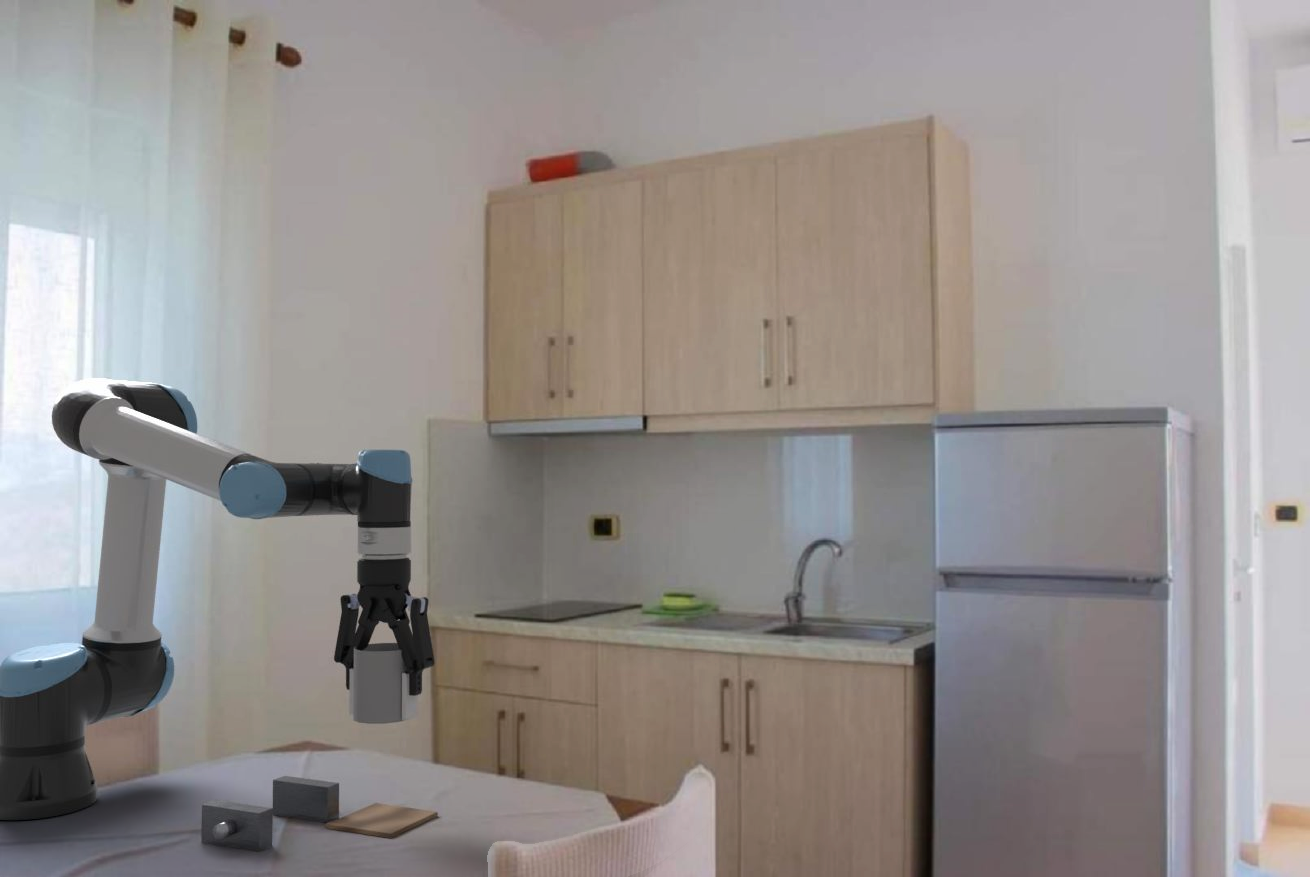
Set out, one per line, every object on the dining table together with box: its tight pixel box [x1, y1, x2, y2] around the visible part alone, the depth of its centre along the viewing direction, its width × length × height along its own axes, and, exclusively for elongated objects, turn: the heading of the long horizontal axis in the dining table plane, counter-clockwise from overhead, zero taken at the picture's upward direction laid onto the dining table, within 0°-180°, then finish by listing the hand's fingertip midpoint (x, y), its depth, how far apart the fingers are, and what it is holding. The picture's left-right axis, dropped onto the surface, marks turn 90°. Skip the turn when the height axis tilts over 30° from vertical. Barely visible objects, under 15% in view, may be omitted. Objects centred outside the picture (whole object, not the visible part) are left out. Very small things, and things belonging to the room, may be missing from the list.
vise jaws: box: [200, 775, 340, 853], centre depth 157 cm, size 10×20×5 cm, turn 156°
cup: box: [352, 642, 407, 725], centre depth 161 cm, size 8×8×10 cm
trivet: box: [325, 802, 439, 839], centre depth 161 cm, size 11×11×1 cm
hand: (383, 715), depth 161 cm, fingers closed on cup, 8 cm apart
